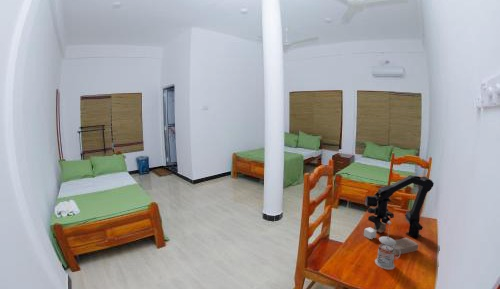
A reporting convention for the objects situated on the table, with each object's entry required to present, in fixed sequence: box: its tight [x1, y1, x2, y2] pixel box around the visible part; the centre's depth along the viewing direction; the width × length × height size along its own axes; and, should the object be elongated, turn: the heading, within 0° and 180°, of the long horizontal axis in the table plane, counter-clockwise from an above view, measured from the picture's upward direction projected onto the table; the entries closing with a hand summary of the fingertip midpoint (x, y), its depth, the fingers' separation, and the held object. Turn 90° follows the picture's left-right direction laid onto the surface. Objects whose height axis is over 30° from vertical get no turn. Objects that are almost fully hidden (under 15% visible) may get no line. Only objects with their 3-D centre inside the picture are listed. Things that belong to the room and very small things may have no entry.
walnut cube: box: [373, 220, 387, 234], centre depth 174 cm, size 5×5×5 cm
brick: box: [391, 237, 419, 256], centre depth 155 cm, size 17×8×5 cm, turn 106°
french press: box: [374, 220, 402, 270], centre depth 139 cm, size 10×12×25 cm
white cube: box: [363, 226, 377, 240], centre depth 168 cm, size 5×5×5 cm
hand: (379, 228), depth 174 cm, fingers closed on walnut cube, 5 cm apart
